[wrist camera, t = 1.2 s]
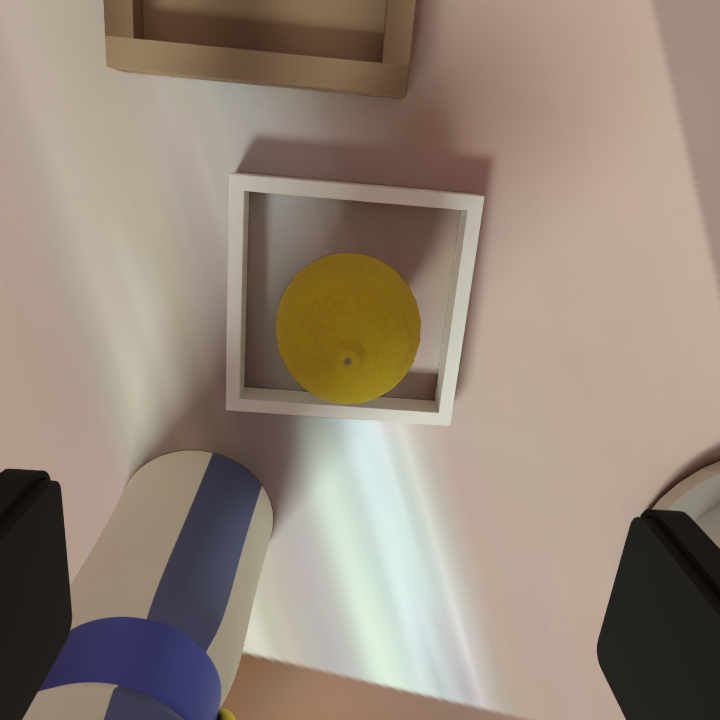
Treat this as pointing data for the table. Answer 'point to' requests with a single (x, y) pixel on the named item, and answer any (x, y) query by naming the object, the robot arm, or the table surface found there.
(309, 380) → the lemon
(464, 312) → the frame
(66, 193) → the table surface
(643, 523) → the robot arm
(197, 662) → the water bottle
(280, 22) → the tray
